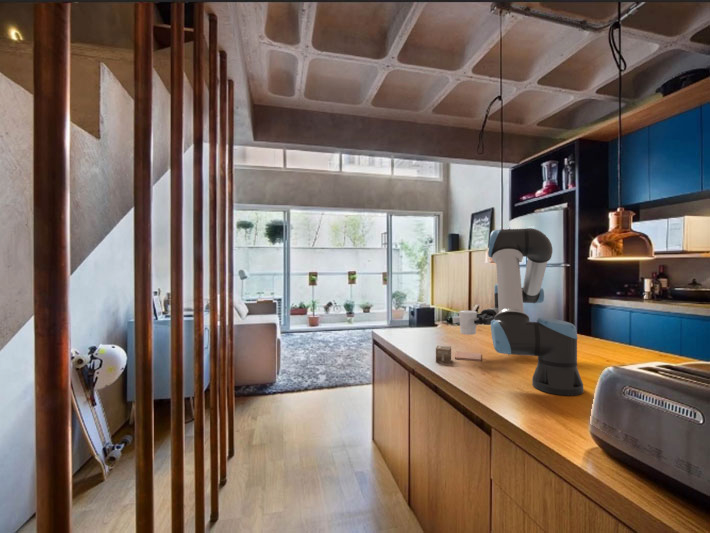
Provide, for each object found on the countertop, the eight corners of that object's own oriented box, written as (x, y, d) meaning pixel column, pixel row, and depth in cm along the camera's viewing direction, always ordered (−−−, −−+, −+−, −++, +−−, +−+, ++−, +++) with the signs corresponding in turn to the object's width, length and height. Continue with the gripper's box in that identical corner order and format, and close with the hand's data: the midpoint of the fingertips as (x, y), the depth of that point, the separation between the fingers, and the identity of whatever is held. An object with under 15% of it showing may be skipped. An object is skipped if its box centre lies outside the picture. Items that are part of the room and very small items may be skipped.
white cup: (455, 332, 161) (455, 311, 161) (468, 331, 165) (467, 310, 164) (468, 335, 154) (467, 313, 154) (480, 333, 158) (480, 312, 157)
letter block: (450, 363, 149) (449, 349, 149) (435, 362, 151) (435, 348, 151) (451, 359, 155) (451, 346, 155) (437, 358, 157) (437, 345, 157)
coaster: (480, 361, 152) (480, 359, 152) (454, 359, 156) (454, 357, 156) (480, 354, 162) (480, 353, 162) (456, 353, 166) (456, 351, 166)
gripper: (510, 327, 161) (480, 333, 148) (473, 321, 178) (443, 326, 165) (510, 311, 161) (480, 315, 148) (473, 306, 178) (443, 310, 165)
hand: (461, 321), depth 156 cm, fingers closed on white cup, 7 cm apart
